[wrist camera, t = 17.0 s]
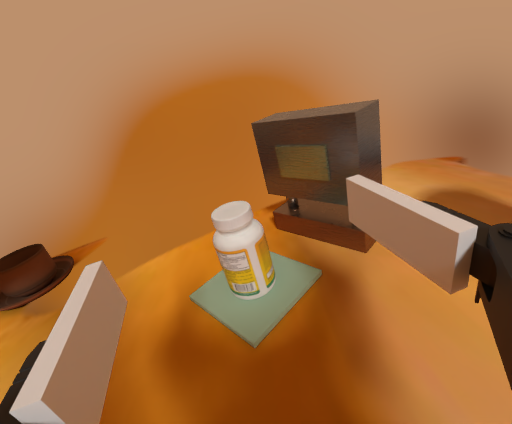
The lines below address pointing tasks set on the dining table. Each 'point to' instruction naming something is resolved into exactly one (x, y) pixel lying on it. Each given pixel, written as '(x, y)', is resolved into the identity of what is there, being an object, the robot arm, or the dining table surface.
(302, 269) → the green mat
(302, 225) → the mounted unit
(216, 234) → the supplement bottle
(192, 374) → the dining table surface
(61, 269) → the brown top hat
